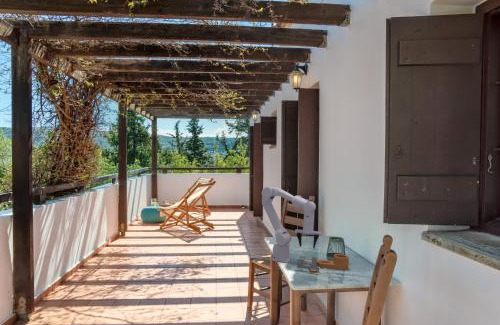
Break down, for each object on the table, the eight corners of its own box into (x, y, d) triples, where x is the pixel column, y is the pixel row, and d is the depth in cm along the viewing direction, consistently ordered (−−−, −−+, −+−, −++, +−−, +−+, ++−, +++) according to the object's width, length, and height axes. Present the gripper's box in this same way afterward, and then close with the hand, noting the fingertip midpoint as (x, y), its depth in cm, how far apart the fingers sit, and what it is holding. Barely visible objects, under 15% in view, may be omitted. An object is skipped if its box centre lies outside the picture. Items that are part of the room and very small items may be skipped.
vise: (296, 269, 214) (296, 260, 214) (299, 264, 224) (300, 255, 224) (315, 271, 211) (315, 263, 211) (317, 266, 222) (318, 258, 221)
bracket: (347, 267, 224) (348, 255, 224) (348, 271, 216) (349, 258, 216) (315, 263, 228) (316, 251, 227) (315, 267, 219) (315, 255, 219)
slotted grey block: (309, 270, 212) (310, 256, 212) (319, 271, 211) (319, 257, 210) (308, 271, 209) (309, 257, 209) (318, 273, 208) (319, 259, 207)
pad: (307, 273, 208) (307, 272, 208) (308, 270, 214) (308, 269, 214) (318, 274, 206) (318, 274, 206) (320, 271, 212) (320, 270, 212)
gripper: (294, 222, 222) (293, 247, 222) (320, 225, 217) (319, 250, 218) (296, 221, 228) (295, 244, 229) (322, 223, 224) (320, 247, 225)
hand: (307, 247), depth 224 cm, fingers open, 7 cm apart
